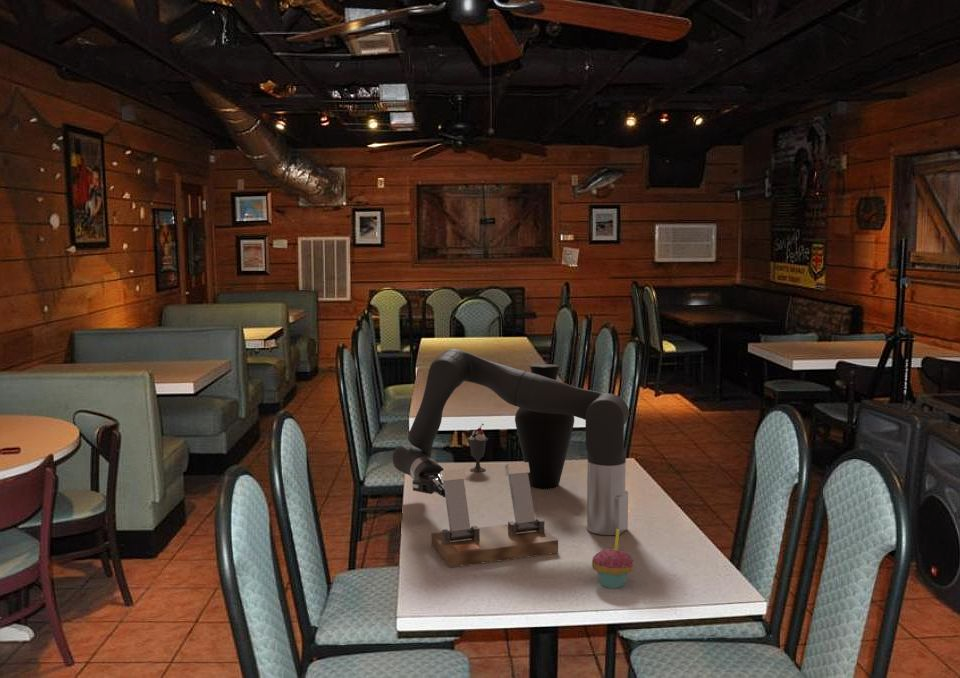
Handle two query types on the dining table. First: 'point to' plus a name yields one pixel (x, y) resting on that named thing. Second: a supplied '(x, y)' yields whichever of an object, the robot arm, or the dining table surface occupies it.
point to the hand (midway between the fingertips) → (446, 493)
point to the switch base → (494, 544)
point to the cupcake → (612, 565)
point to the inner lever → (521, 496)
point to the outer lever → (456, 504)
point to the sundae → (477, 447)
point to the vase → (544, 438)
